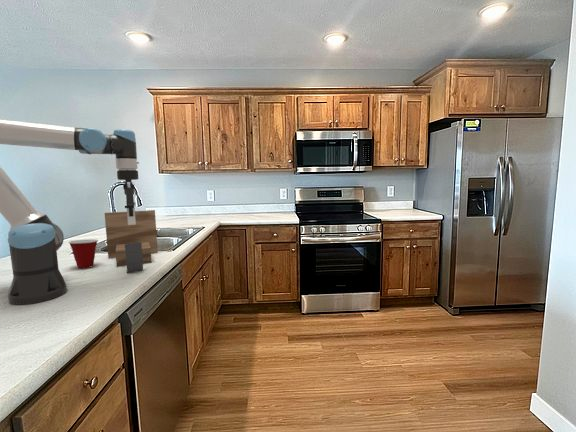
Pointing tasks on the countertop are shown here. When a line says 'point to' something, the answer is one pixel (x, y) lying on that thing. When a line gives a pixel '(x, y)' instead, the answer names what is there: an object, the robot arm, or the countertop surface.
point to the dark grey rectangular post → (134, 257)
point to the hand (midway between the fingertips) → (131, 222)
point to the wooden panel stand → (131, 234)
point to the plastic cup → (84, 252)
